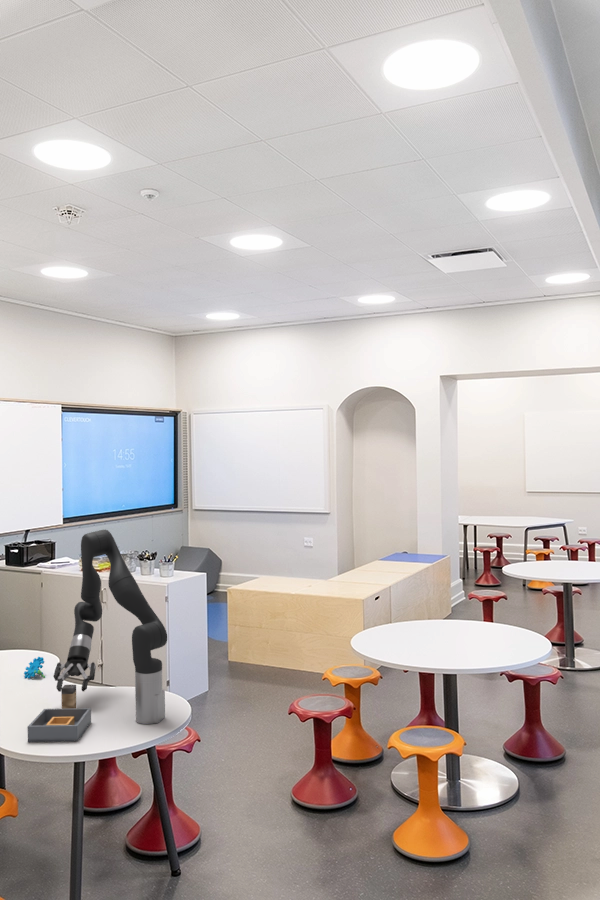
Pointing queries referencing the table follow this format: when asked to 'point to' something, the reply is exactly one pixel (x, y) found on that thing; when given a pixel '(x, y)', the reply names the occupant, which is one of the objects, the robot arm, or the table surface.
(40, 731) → the box
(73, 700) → the plug
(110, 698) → the table surface
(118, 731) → the table surface
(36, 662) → the blue lumpy cluster
